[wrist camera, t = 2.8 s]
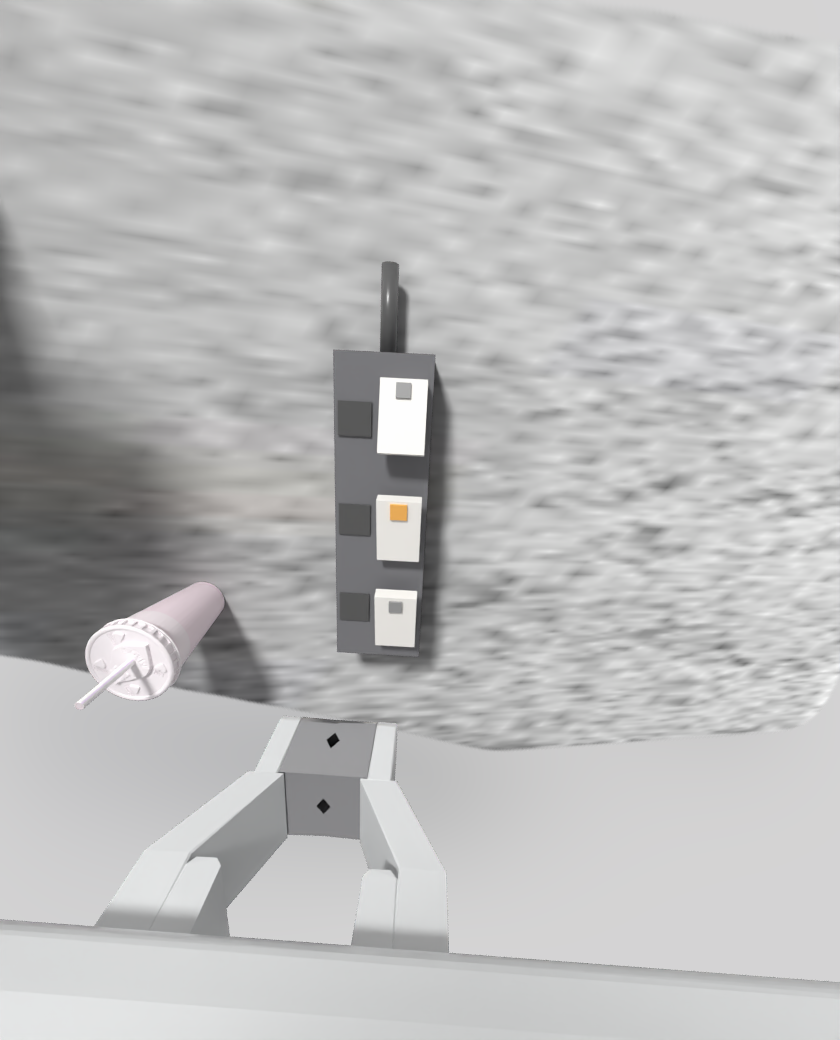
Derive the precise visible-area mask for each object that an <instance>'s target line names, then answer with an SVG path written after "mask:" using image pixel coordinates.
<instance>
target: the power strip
mask: <svg viewBox="0 0 840 1040" xmlns="http://www.w3.org/2000/svg"><path fill="white" fill-rule="evenodd" d="M398 280H399V264H397V263H395V262H383V263H382V280H381V334H380V352H371V351H351V350H333V365H334V441H335V517H336V593H337V652H346V653H363V654H380V655H397V656H414V657H419V641H420V623H421V605H422V587H423V569H424V551H425V533H426V515H427V497H428V480H429V462H430V444H431V426H432V408H433V390H434V372H435V355H431V354H411V353H396V348H397V314H398ZM380 377H384V378H404V379H424V380H428V394H427V413H426V432H425V450H424V457H420V456H401V455H382V454H378V453H377V439H378V416H379V394H380ZM378 495H394V496H413V497H422V508H421V528H420V549H419V562H408V561H390V560H377V536H376V499H377V496H378ZM376 589H390V590H408V591H417V605H416V625H415V644H414V647H401V646H384V645H375V605H374V596H375V592H376Z"/></svg>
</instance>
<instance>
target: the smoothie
mask: <svg viewBox="0 0 840 1040" xmlns="http://www.w3.org/2000/svg"><path fill="white" fill-rule="evenodd" d="M224 604H225V601H224V597H223V594H222V593H221V591H220V590H219V589H218V588H217V587H216V586H214V585H212V584H210V583H207V582H197V583H194V584H192V585H190V586H188V587H186V588H185V589H183V590H181V591H179V592H177V593H175V594H173V595H171V596H169V597H167V598H165V599H163V600H161V601H159V602H157V603H155V604H153V605H152V606H150V607H148V608H146V609H144V610H142V611H140V612H138V613H136V614H134V615H132V616H130V617H128V618H125V619H117V620H115V621H112V622H109V623H107V624H106V625H105V626H104V627H103V628H101V629H100V630H99V631H97V632H96V633H95V634H94V635H93V636H92V637H91V638H90V639H89V641H88V643H87V646H86V650H85V659H86V664H87V667H88V669H89V671H90V673H91V675H92V676H93V678H94V679H95V680H96V681H97V682H98V685H97V686H96V687H94V688H93V689H92V690H91V691H89V692H88V693H87V694H86V695H85V696H83V697H82V698H81V699H80V700H78V701H77V702H76V703H75V704H74V706H75V707H76V709H78V710H82V709H83V708H85V707H86V706H87V705H88V704H89V703H90V702H92V701H93V700H94V699H95V698H96V697H97V696H99V695H100V694H101V693H102V692H103V691H104V690H107V691H109V692H110V693H112V694H114V695H116V696H118V697H121V698H125V699H128V700H135V701H143V700H150V699H154V698H156V697H158V696H160V695H161V694H163V693H164V692H165V691H166V690H167V689H168V688H169V687H170V686H172V685H173V684H174V683H175V681H176V680H177V679H178V677H179V675H180V671H181V668H182V665H183V664H184V663H185V661H186V660H187V658H188V657H189V655H190V654H191V653H192V651H193V650H194V649H195V647H196V646H197V644H198V643H199V642H200V640H201V639H202V638H203V636H204V635H205V633H206V632H207V631H208V629H209V628H210V626H211V625H212V624H213V622H214V621H215V620H216V618H217V617H218V615H219V614H220V613H221V611H222V610H223V608H224Z"/></svg>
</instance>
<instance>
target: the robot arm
mask: <svg viewBox="0 0 840 1040" xmlns="http://www.w3.org/2000/svg"><path fill="white" fill-rule="evenodd" d="M396 748H397V723H383V722H363V721H345V720H329V719H319V718H308V717H307V718H306V717H303V718H302V717H292V716H283V717H282V718H281V719H280V720H279V722H278V724H277V726H276V728H275V730H274V732H273V734H272V736H271V738H270V740H269V742H268V744H267V746H266V748H265V750H264V753H263V754H262V757H261V758H260V760H259V762H258V764H257V766H256V769H255V770H254V771H248V772H246V773H245V774H243V775H242V776H241V777H239V778H238V779H237V780H236V781H234V782H233V783H232V784H230V785H229V786H228V787H226V788H225V789H224V790H222V791H221V792H220V793H219V794H217V795H216V796H215V797H214V798H212V799H211V800H209V801H208V802H207V803H206V804H204V805H203V806H202V807H200V808H199V809H198V810H196V811H195V812H194V813H193V814H191V815H190V816H188V817H187V818H186V819H185V820H183V821H182V822H181V823H179V824H178V825H177V826H175V827H174V828H173V829H171V830H170V831H169V832H167V833H166V834H165V835H164V836H162V837H161V838H160V839H159V840H157V841H156V842H154V843H153V844H152V845H150V846H149V847H148V848H147V849H145V850H144V852H143V853H142V855H141V856H140V858H139V859H138V861H137V862H136V864H135V865H134V867H133V868H132V870H131V871H130V873H129V874H128V876H127V877H126V879H125V880H124V882H123V884H122V885H121V887H120V888H119V890H118V891H117V893H116V894H115V896H114V897H113V899H112V900H111V902H110V903H109V905H108V906H107V908H106V910H105V911H104V912H103V914H102V915H101V917H100V919H99V920H98V921H97V923H96V925H95V926H82V925H81V926H80V925H68V924H55V923H42V922H28V921H15V920H2V919H0V1040H840V982H829V981H815V980H802V979H789V978H775V977H762V976H746V975H735V974H722V973H709V972H695V971H682V970H669V969H654V968H642V967H628V966H615V965H601V964H588V963H576V962H575V963H574V962H562V961H549V960H536V959H523V958H522V959H521V958H508V957H495V956H483V955H469V954H456V953H449V941H448V910H447V877H446V871H445V869H444V867H443V866H442V864H441V862H440V860H439V858H438V856H437V854H436V853H435V851H434V849H433V847H432V845H431V843H430V842H429V840H428V838H427V836H426V834H425V832H424V830H423V829H422V827H421V825H420V823H419V821H418V819H417V817H416V816H415V814H414V812H413V810H412V808H411V806H410V804H409V803H408V801H407V799H406V797H405V795H404V793H403V791H402V789H401V788H400V786H399V784H398V782H397V781H395V769H396V750H397V749H396ZM287 834H289V835H315V836H330V837H340V838H350V839H359V840H360V844H361V847H362V850H363V853H364V855H365V859H366V862H367V865H368V868H369V870H368V871H367V872H366V873H365V874H364V875H363V876H362V882H361V888H360V895H359V901H358V907H357V913H356V919H355V925H354V932H353V938H352V943H351V946H349V945H335V944H322V943H309V942H295V941H282V940H267V939H255V938H241V937H230V934H229V926H228V919H227V910H226V908H227V907H228V906H229V905H230V904H231V902H232V901H233V900H234V899H235V898H236V897H237V895H238V894H239V893H240V892H241V891H242V890H243V888H244V887H245V886H246V885H247V884H248V882H249V881H250V880H251V879H252V878H253V877H254V876H255V874H256V873H257V872H258V871H259V870H260V868H261V867H262V866H263V865H264V864H265V863H266V862H267V860H268V859H269V858H270V857H271V856H272V855H273V853H274V852H275V851H276V850H277V849H278V848H279V846H280V845H281V844H282V842H284V841H285V839H286V838H287Z"/></svg>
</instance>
